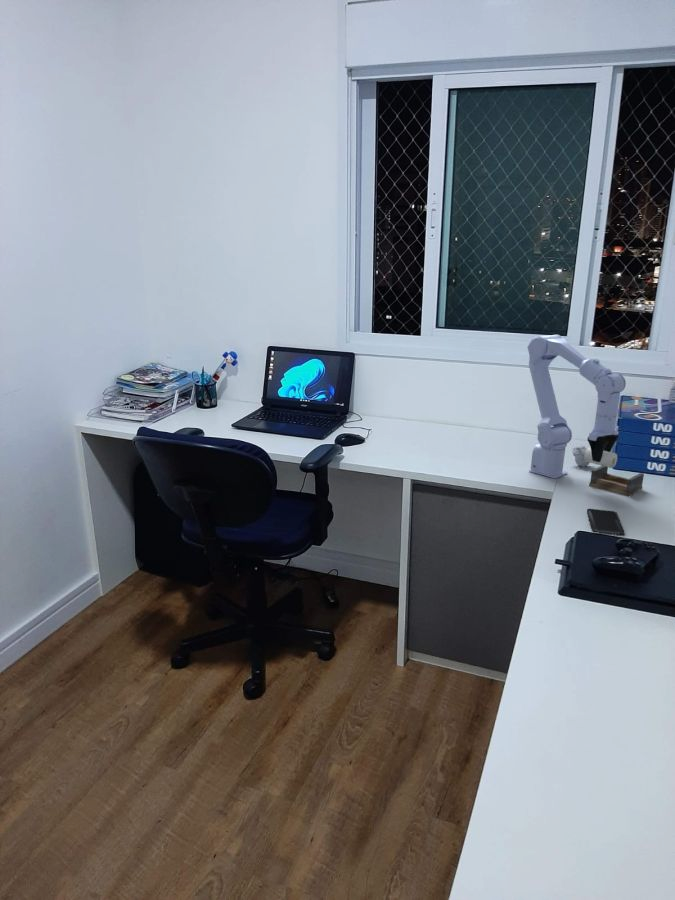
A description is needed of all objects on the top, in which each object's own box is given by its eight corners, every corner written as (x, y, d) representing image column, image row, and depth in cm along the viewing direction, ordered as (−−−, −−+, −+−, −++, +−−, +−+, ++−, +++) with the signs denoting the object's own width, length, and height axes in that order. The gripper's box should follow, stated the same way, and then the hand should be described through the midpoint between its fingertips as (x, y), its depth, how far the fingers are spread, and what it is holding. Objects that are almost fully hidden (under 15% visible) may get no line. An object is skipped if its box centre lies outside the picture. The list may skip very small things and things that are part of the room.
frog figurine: (572, 461, 226) (574, 442, 224) (593, 465, 223) (596, 445, 221) (568, 466, 221) (570, 446, 219) (590, 470, 218) (593, 449, 216)
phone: (592, 529, 170) (586, 508, 184) (591, 533, 170) (586, 511, 184) (625, 533, 168) (617, 511, 182) (624, 537, 168) (616, 515, 182)
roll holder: (589, 485, 204) (591, 470, 202) (602, 479, 210) (604, 464, 208) (629, 496, 195) (632, 480, 194) (642, 489, 201) (644, 473, 200)
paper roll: (583, 462, 199) (585, 448, 198) (590, 460, 202) (592, 446, 201) (609, 469, 194) (611, 454, 193) (616, 466, 197) (618, 452, 196)
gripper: (608, 421, 186) (601, 467, 190) (630, 413, 196) (624, 457, 200) (584, 416, 191) (578, 461, 195) (607, 409, 201) (601, 452, 205)
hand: (600, 459), depth 198 cm, fingers closed on paper roll, 4 cm apart
